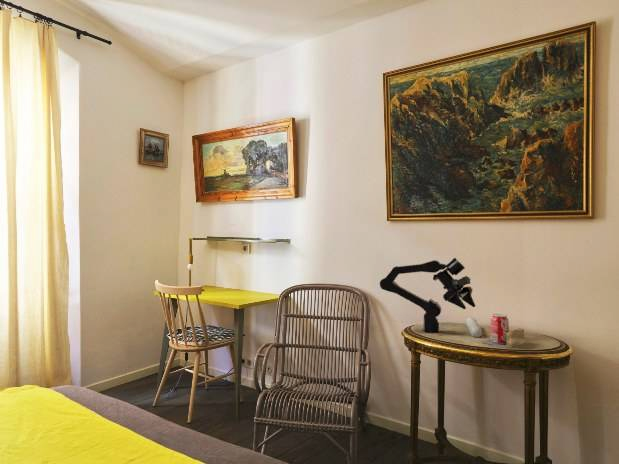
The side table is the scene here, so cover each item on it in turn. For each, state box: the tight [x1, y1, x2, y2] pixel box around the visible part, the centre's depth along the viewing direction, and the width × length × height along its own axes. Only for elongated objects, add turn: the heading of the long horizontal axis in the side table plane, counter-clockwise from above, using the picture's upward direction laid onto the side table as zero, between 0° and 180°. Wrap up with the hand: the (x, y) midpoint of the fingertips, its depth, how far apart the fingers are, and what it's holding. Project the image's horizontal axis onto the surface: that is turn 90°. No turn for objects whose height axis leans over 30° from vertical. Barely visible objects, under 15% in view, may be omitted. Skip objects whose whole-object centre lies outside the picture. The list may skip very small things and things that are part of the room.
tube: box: [465, 317, 483, 338], centre depth 212 cm, size 5×5×25 cm
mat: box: [482, 338, 507, 348], centre depth 189 cm, size 10×10×1 cm
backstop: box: [506, 328, 525, 349], centre depth 186 cm, size 2×14×6 cm, turn 134°
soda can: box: [490, 313, 510, 344], centre depth 188 cm, size 7×7×12 cm
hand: (470, 307), depth 201 cm, fingers open, 9 cm apart
